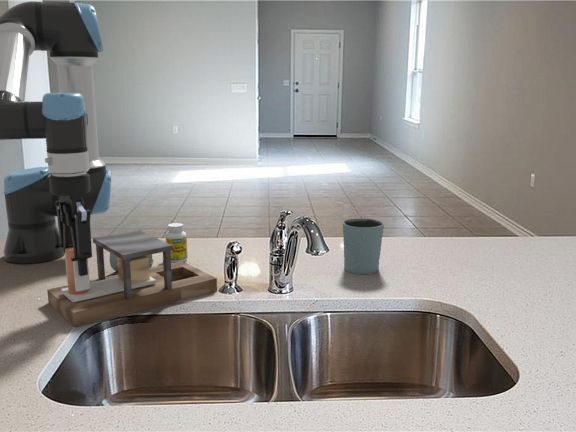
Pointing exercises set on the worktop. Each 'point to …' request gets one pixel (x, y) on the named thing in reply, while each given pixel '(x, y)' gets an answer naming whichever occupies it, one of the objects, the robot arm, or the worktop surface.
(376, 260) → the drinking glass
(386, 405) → the worktop surface
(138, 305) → the tunnel deck
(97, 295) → the white plank with peg
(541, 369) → the worktop surface
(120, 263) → the maple block
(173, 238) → the supplement bottle
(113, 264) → the ceramic mug
